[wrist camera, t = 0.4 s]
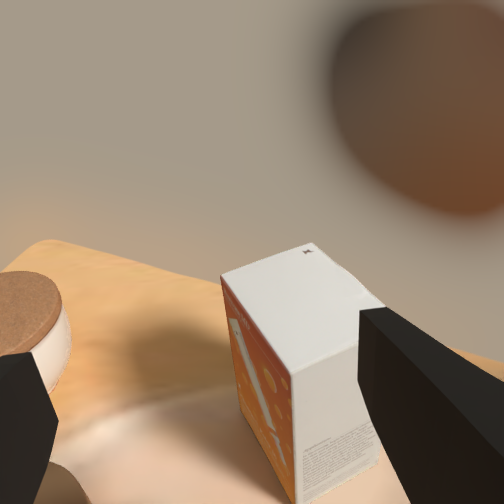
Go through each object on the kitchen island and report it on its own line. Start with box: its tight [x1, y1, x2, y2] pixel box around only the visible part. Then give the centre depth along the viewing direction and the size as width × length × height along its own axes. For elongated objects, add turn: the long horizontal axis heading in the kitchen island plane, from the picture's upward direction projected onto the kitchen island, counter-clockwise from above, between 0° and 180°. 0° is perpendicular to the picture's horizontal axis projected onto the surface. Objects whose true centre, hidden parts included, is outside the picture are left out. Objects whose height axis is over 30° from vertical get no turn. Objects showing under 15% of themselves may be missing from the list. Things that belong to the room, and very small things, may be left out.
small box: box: [220, 243, 386, 504], centre depth 25 cm, size 8×6×13 cm
